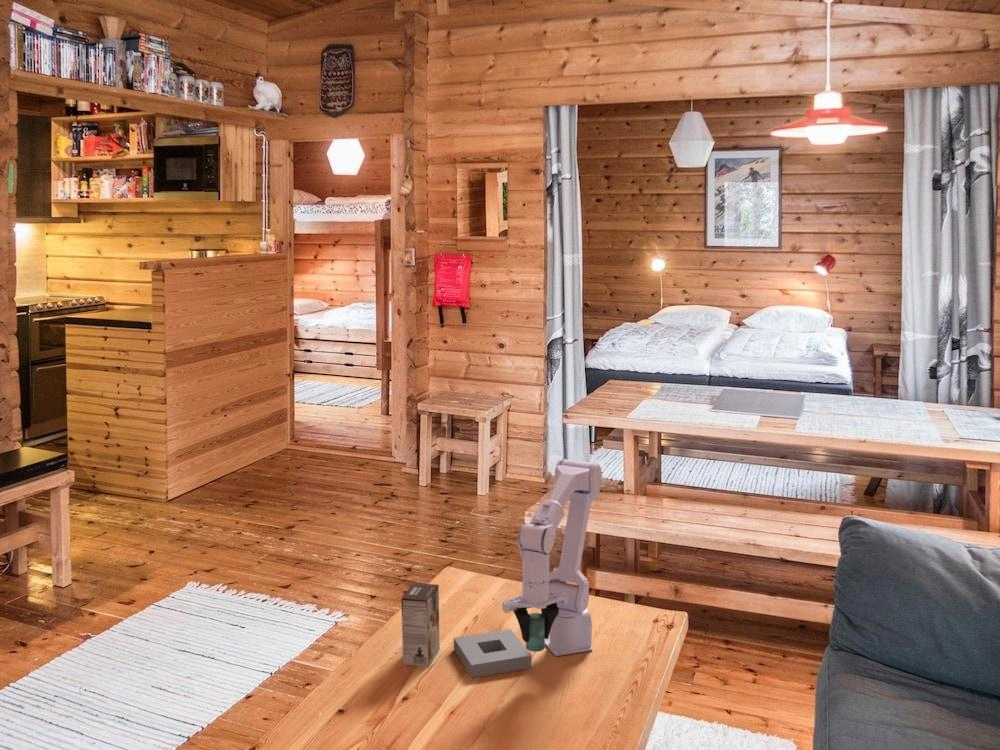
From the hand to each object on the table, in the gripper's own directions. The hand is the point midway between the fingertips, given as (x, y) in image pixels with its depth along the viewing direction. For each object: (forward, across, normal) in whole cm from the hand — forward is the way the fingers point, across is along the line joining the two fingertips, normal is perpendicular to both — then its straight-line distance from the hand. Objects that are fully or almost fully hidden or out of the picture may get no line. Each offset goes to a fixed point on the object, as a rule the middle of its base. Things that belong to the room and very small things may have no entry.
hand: (535, 638), depth 198 cm
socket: (+9, -6, +12) cm, 16 cm away
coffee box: (+10, -21, +18) cm, 29 cm away
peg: (+2, 0, 0) cm, 2 cm away
